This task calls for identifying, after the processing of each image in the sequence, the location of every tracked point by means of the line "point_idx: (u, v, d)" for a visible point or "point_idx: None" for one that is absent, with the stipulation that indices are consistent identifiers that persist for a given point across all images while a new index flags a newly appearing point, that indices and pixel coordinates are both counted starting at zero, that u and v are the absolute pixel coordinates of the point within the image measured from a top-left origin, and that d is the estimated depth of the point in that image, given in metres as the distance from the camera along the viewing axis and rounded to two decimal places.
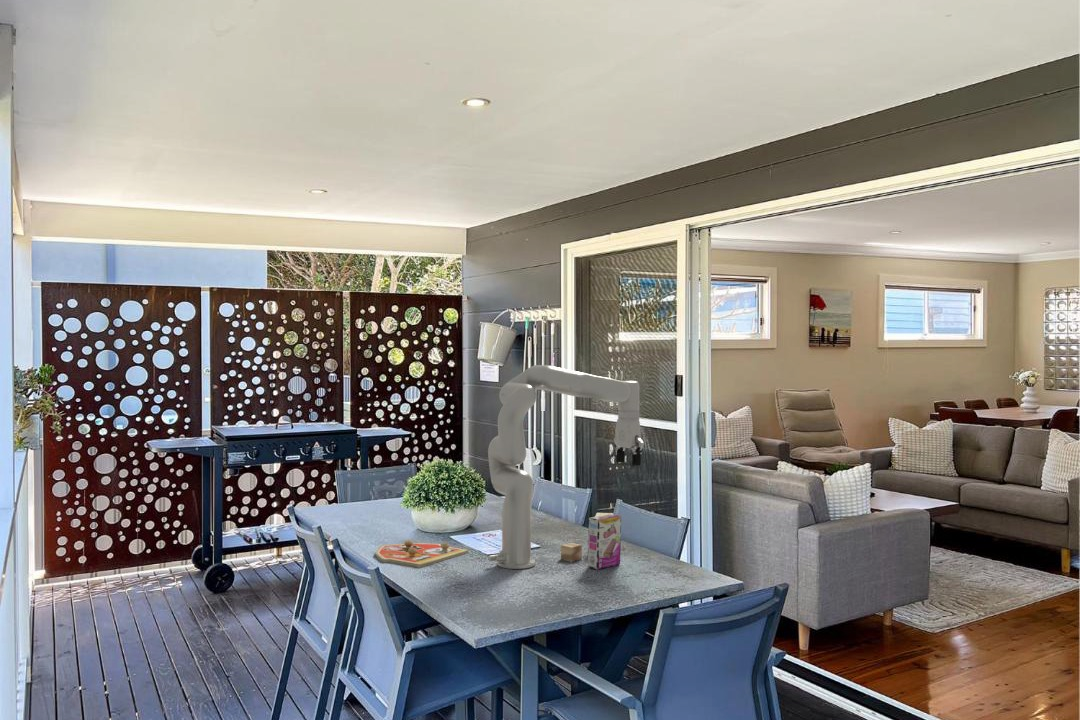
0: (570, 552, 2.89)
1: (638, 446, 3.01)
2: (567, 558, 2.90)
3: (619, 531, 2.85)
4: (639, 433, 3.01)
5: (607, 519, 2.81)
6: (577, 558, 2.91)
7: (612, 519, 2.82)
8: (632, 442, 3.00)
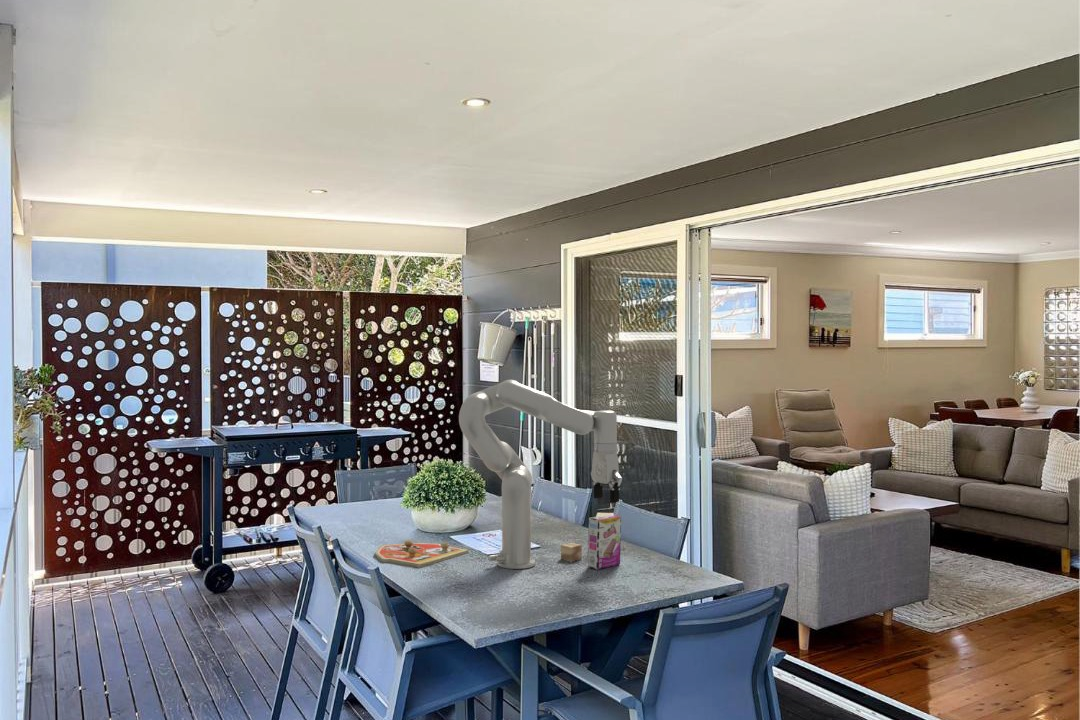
0: (570, 552, 2.89)
1: (616, 481, 2.79)
2: (567, 558, 2.90)
3: (619, 531, 2.85)
4: (617, 467, 2.79)
5: (607, 519, 2.81)
6: (577, 558, 2.91)
7: (612, 519, 2.82)
8: (609, 477, 2.78)
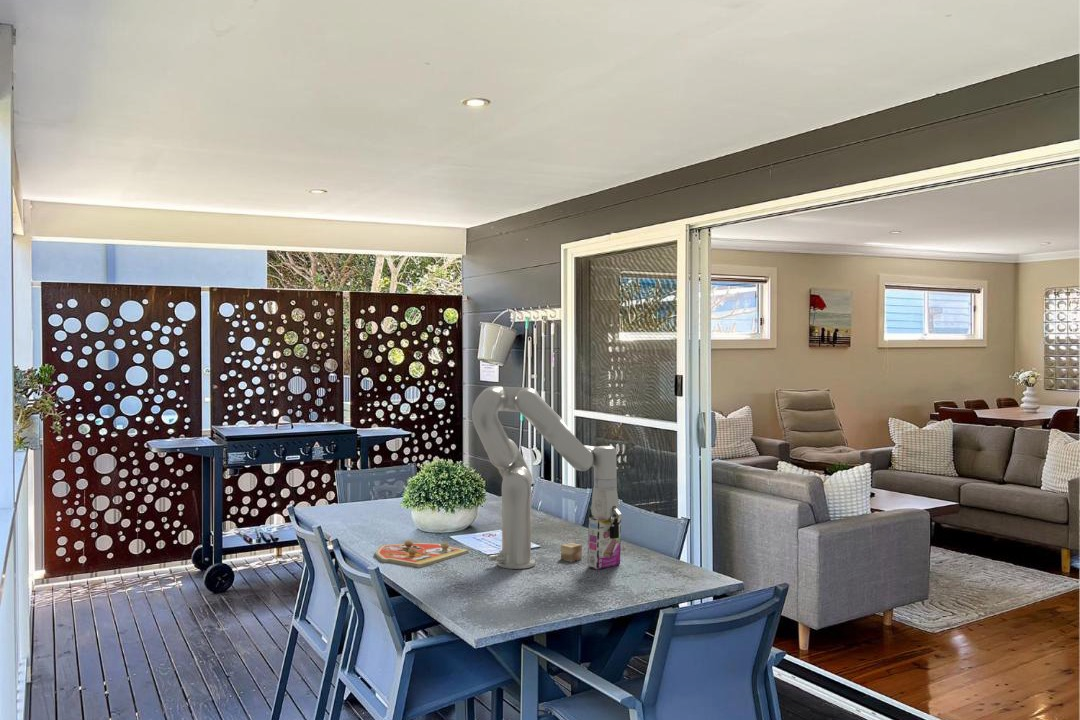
0: (570, 552, 2.89)
1: (616, 517, 2.79)
2: (567, 558, 2.90)
3: (619, 531, 2.85)
4: (617, 503, 2.79)
5: None
6: (577, 558, 2.91)
7: None
8: (609, 513, 2.78)
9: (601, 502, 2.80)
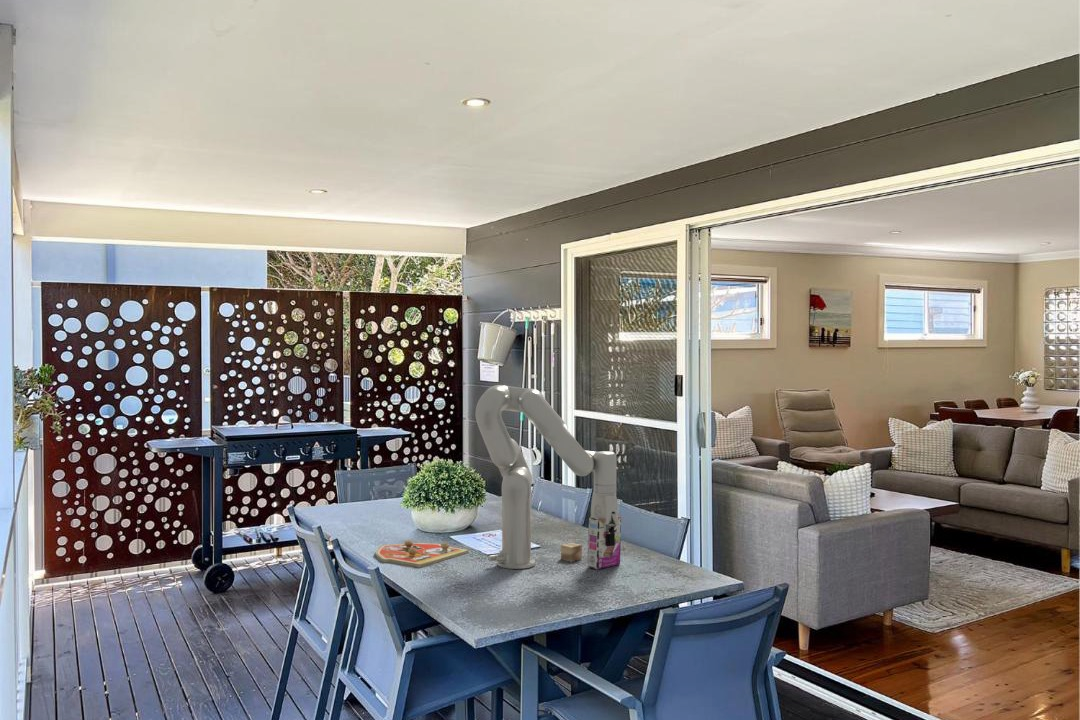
0: (570, 552, 2.89)
1: None
2: (567, 558, 2.90)
3: (619, 531, 2.85)
4: (616, 509, 2.79)
5: None
6: (577, 558, 2.91)
7: None
8: (608, 519, 2.78)
9: (600, 507, 2.80)
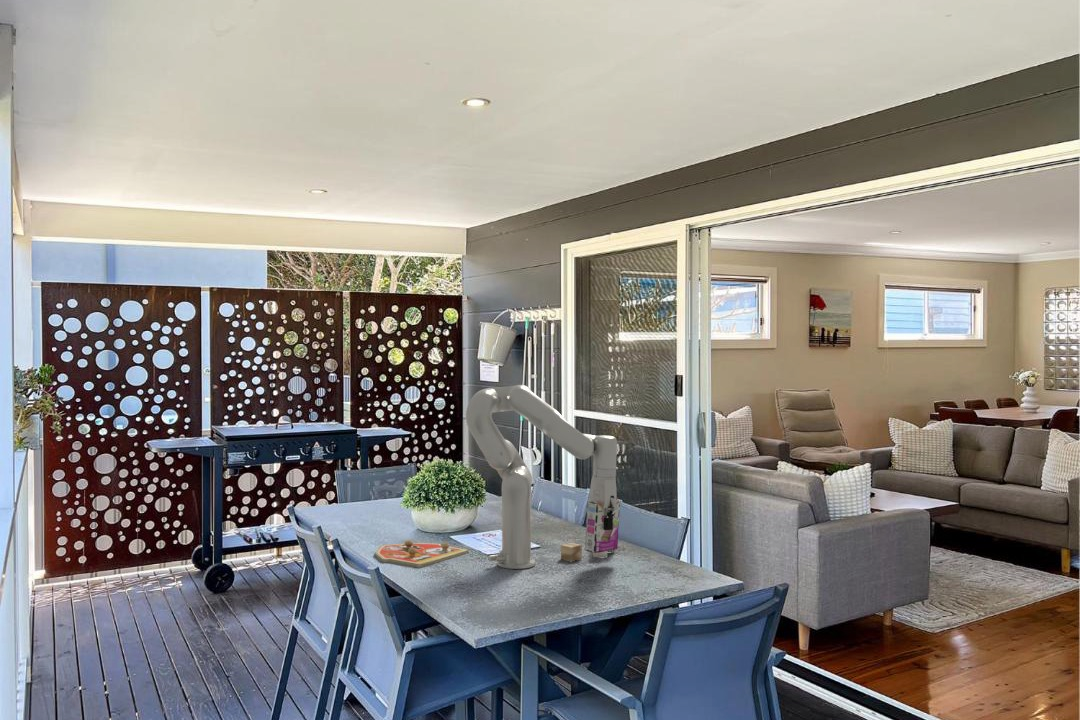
0: (570, 552, 2.89)
1: None
2: (567, 558, 2.90)
3: (618, 516, 2.85)
4: (615, 493, 2.79)
5: None
6: (577, 558, 2.91)
7: None
8: (607, 503, 2.78)
9: (599, 491, 2.80)
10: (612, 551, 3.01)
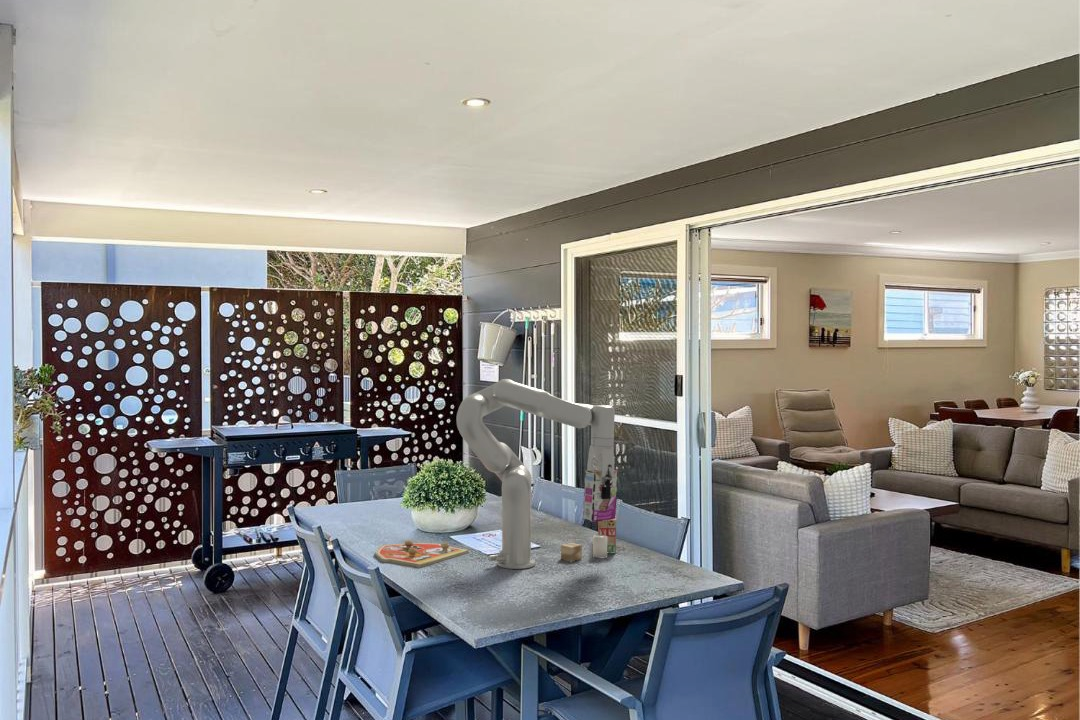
0: (570, 552, 2.89)
1: None
2: (567, 558, 2.90)
3: (615, 485, 2.85)
4: (612, 462, 2.80)
5: None
6: (577, 558, 2.91)
7: None
8: (604, 472, 2.78)
9: (597, 460, 2.81)
10: (613, 551, 3.01)
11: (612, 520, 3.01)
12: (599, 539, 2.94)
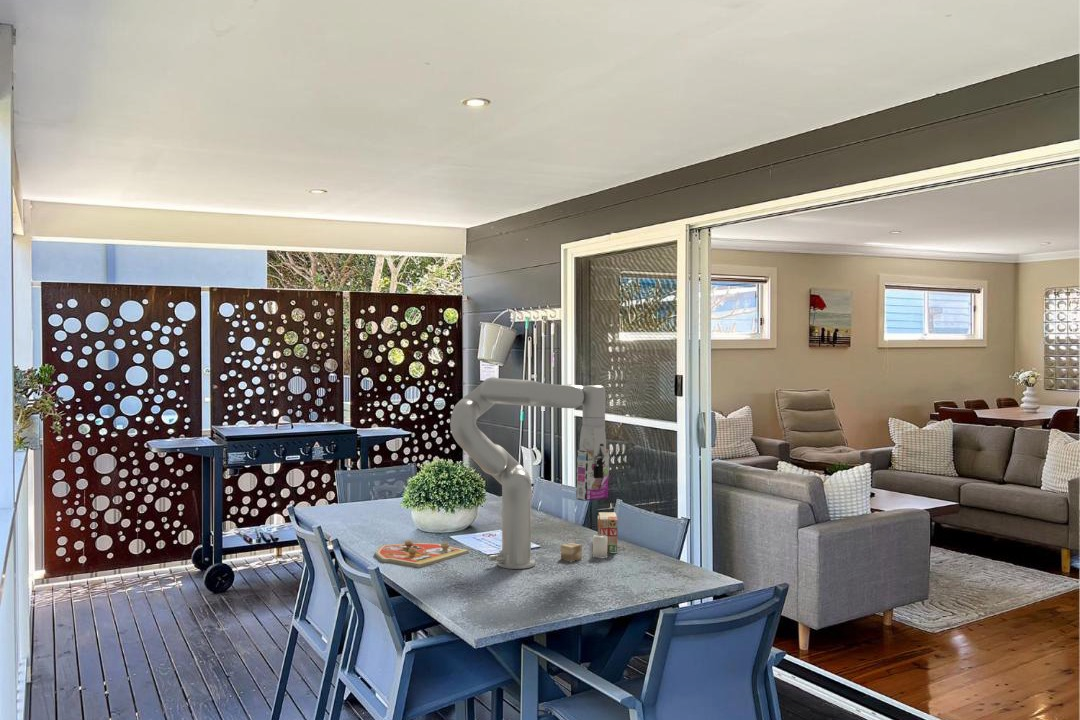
0: (570, 552, 2.89)
1: None
2: (567, 558, 2.90)
3: (608, 464, 2.87)
4: (604, 441, 2.82)
5: None
6: (577, 558, 2.91)
7: None
8: (596, 451, 2.80)
9: (589, 440, 2.82)
10: (615, 551, 3.01)
11: (613, 520, 3.01)
12: (599, 539, 2.94)
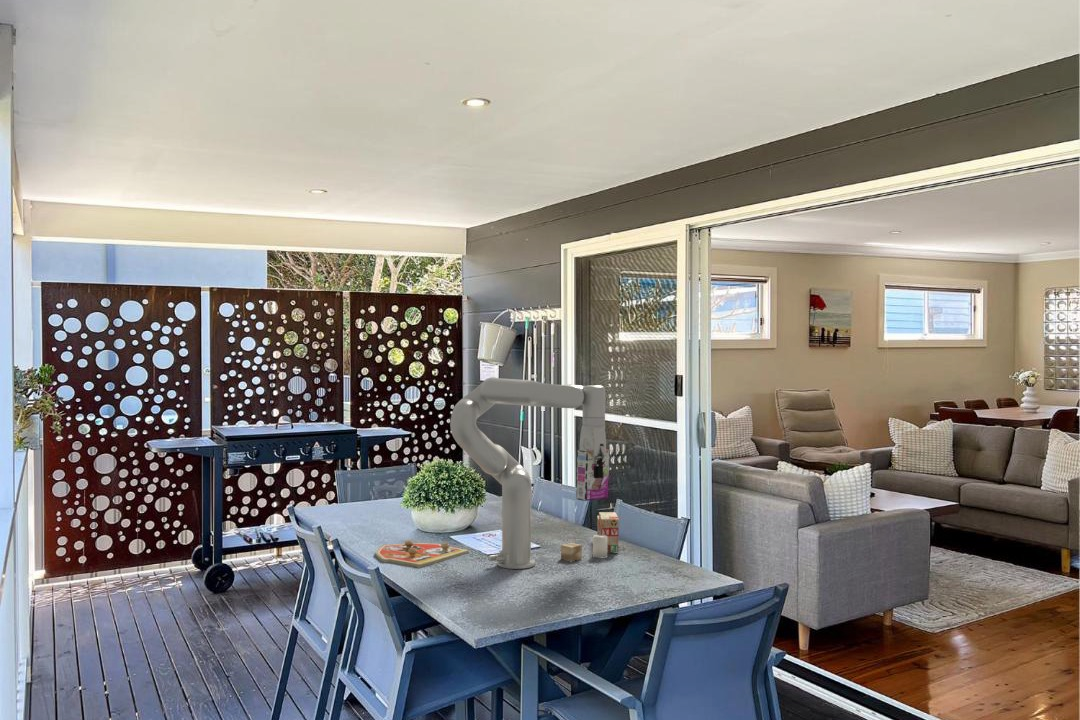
0: (570, 552, 2.89)
1: None
2: (567, 558, 2.90)
3: (608, 464, 2.87)
4: (604, 441, 2.82)
5: None
6: (577, 558, 2.91)
7: None
8: (596, 451, 2.80)
9: (589, 440, 2.82)
10: (616, 550, 3.02)
11: (615, 520, 3.01)
12: (599, 539, 2.94)
